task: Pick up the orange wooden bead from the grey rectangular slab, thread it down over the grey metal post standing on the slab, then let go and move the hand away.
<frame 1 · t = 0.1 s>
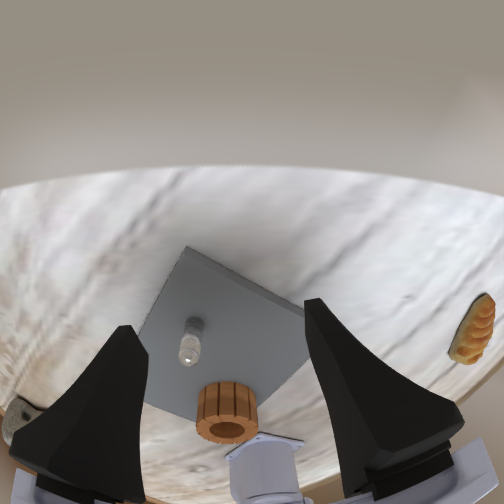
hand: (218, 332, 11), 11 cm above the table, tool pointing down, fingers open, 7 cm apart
pastry: (467, 326, 27), on the table
grey rectangular slab: (210, 359, 25), on the table
bead: (227, 398, 25), point 1 cm above the table, touching grey rectangular slab
metal post: (194, 324, 22), resting on grey rectangular slab
stone: (47, 419, 31), on the table
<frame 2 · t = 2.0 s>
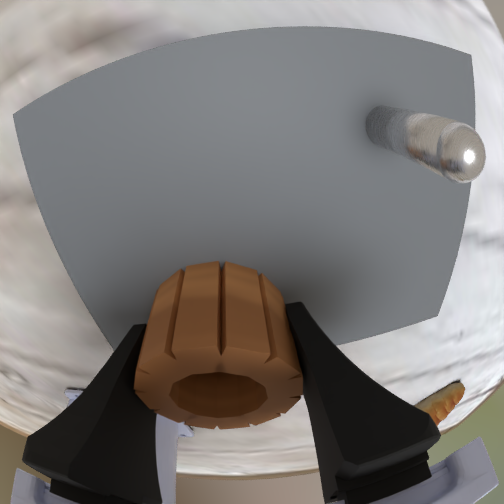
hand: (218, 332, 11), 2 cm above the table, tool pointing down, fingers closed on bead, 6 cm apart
pastry: (423, 402, 26), on the table
grey rectangular slab: (275, 215, 11), on the table
bead: (218, 317, 12), point 2 cm above the table, touching gripper, grey rectangular slab
metal post: (384, 126, 8), resting on grey rectangular slab
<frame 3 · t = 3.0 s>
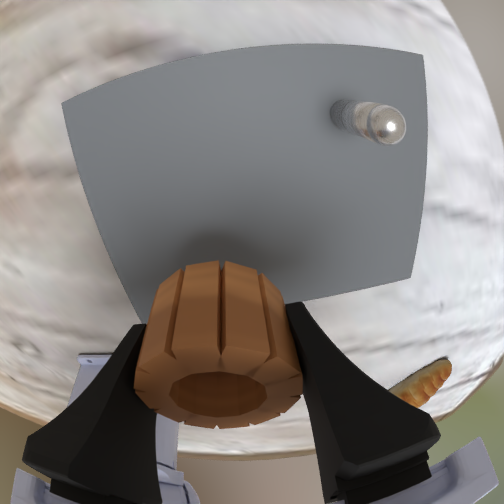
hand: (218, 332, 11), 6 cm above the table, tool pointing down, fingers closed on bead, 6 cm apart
pastry: (412, 379, 29), on the table
grey rectangular slab: (264, 185, 14), on the table
bead: (218, 316, 12), point 5 cm above the table, touching gripper
metal post: (344, 114, 11), resting on grey rectangular slab
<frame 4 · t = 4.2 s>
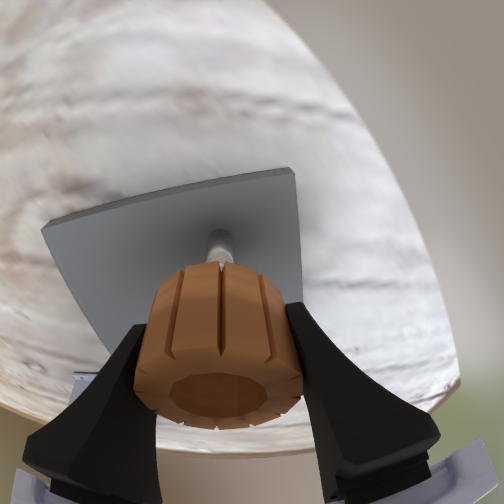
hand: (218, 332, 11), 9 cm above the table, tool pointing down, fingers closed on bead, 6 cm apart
grey rectangular slab: (178, 279, 21), on the table
bead: (218, 317, 12), point 8 cm above the table, touching gripper
metal post: (220, 239, 18), resting on grey rectangular slab
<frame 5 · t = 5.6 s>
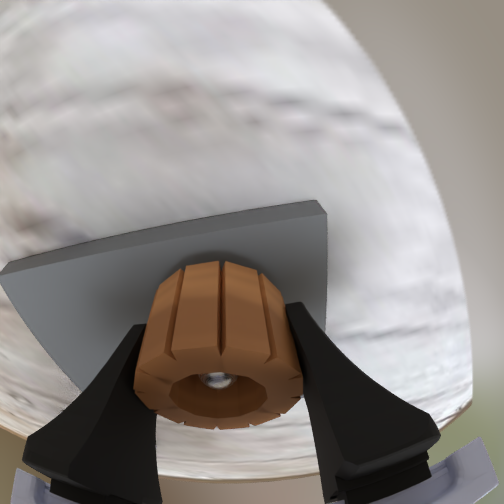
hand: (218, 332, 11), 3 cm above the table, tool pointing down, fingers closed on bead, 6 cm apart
grey rectangular slab: (167, 337, 16), on the table
bead: (218, 317, 12), point 3 cm above the table, touching gripper
metal post: (218, 301, 13), resting on grey rectangular slab
when the fingers open (3 cm above the table, at t = 6.5 s): bead drops 1 cm, resting on grey rectangular slab.
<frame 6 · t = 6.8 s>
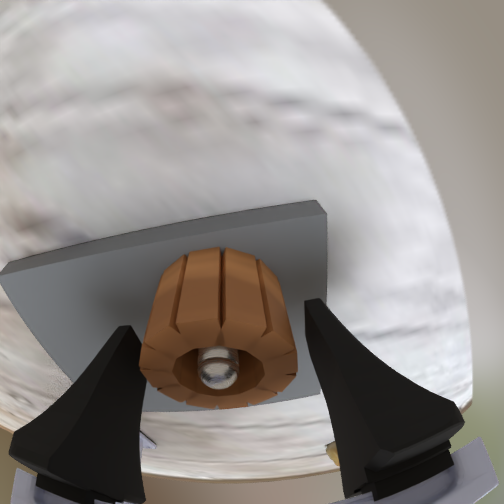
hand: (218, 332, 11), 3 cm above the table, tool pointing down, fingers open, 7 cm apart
pastry: (356, 434, 30), on the table
grey rectangular slab: (166, 337, 16), on the table
bead: (218, 301, 13), point 1 cm above the table, touching grey rectangular slab
metal post: (218, 301, 13), resting on grey rectangular slab
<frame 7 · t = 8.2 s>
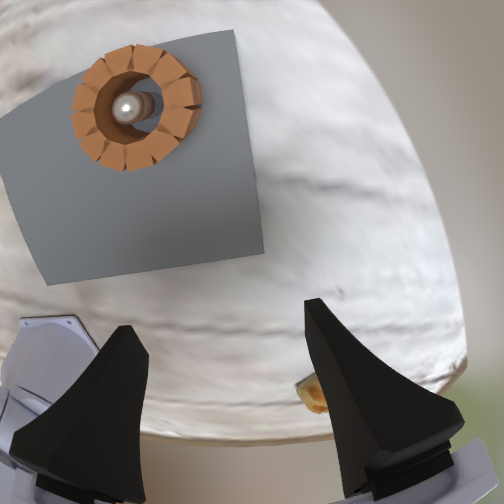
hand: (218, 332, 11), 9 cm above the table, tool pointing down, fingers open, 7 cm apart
pastry: (331, 373, 30), on the table
grey rectangular slab: (112, 171, 16), on the table
bead: (151, 104, 13), point 1 cm above the table, touching grey rectangular slab
metal post: (151, 104, 13), resting on grey rectangular slab
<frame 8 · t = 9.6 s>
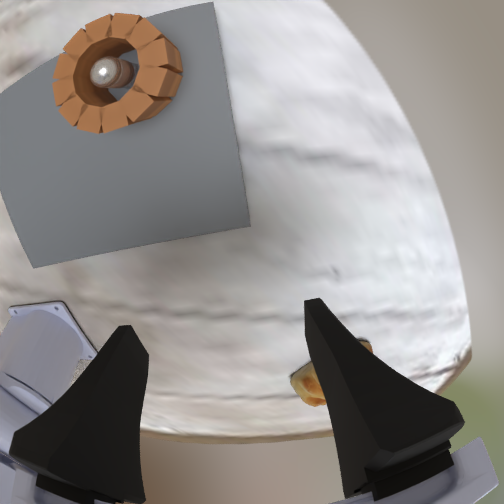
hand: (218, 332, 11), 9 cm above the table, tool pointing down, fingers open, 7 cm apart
pastry: (327, 363, 29), on the table
grey rectangular slab: (96, 147, 15), on the table
bead: (133, 75, 12), point 1 cm above the table, touching grey rectangular slab
metal post: (132, 76, 12), resting on grey rectangular slab
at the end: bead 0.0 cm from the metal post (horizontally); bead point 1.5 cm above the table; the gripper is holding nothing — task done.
